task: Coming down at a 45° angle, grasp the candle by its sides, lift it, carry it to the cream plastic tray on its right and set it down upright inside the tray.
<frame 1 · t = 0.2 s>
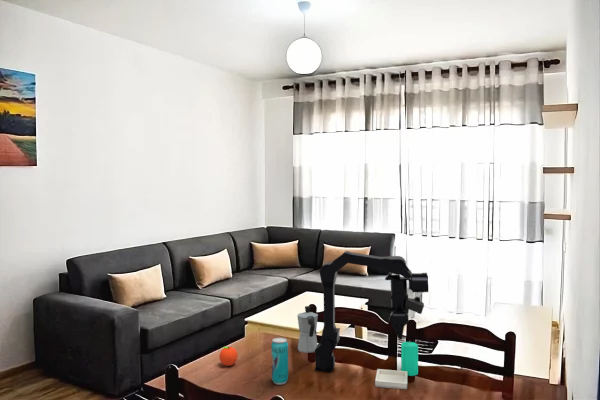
hand: (400, 335, 175), 15 cm above the table, tool pointing down, fingers open, 9 cm apart
clementine: (227, 365, 186), on the table
beverage can: (280, 382, 170), on the table
coffee maker: (308, 350, 201), on the table
tray: (391, 381, 169), on the table
candle: (409, 373, 177), on the table
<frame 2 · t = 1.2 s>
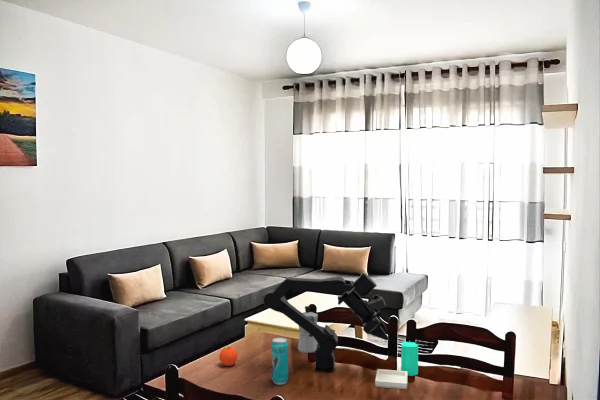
hand: (387, 335, 178), 13 cm above the table, tool tilted 45°, fingers open, 9 cm apart
nothing on the table moved.
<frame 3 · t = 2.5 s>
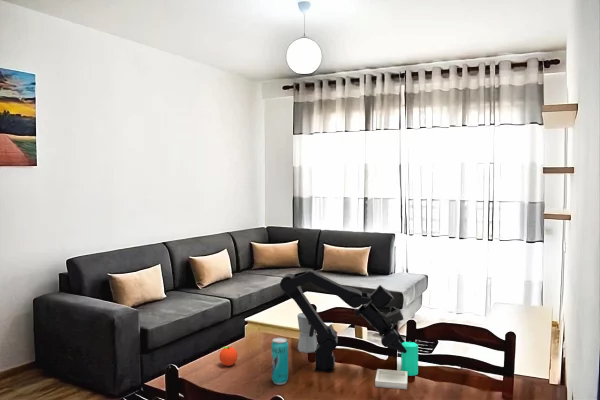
hand: (405, 347, 177), 9 cm above the table, tool tilted 45°, fingers open, 9 cm apart
nothing on the table moved.
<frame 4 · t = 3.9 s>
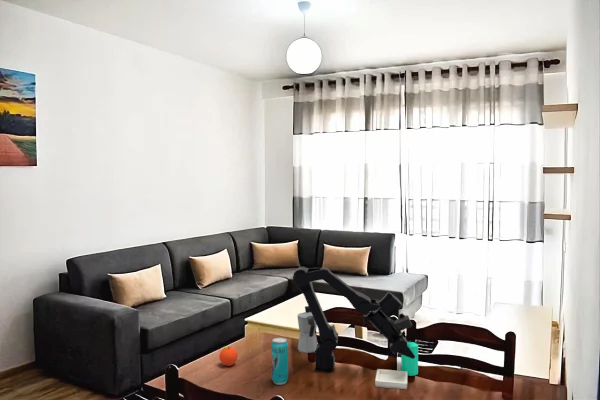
hand: (413, 354, 177), 7 cm above the table, tool tilted 45°, fingers closed on candle, 5 cm apart
candle: (409, 373, 177), on the table, touching gripper
everything else where it was.
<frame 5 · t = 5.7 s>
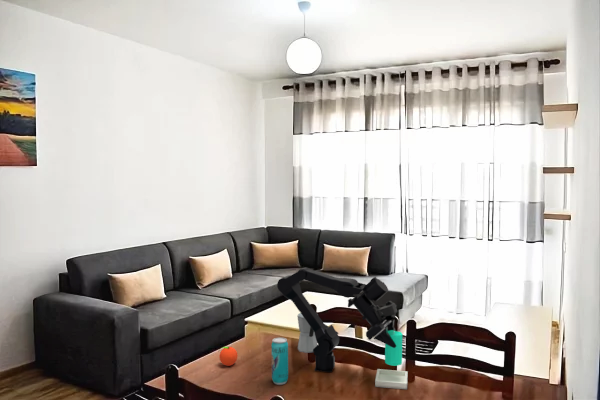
hand: (397, 344, 169), 13 cm above the table, tool tilted 45°, fingers closed on candle, 5 cm apart
candle: (393, 362, 170), point 6 cm above the table, touching gripper
everything else where it was.
when the fingers open (8 cm above the table, at t = 7.4 s): candle stays where it is, resting on tray.
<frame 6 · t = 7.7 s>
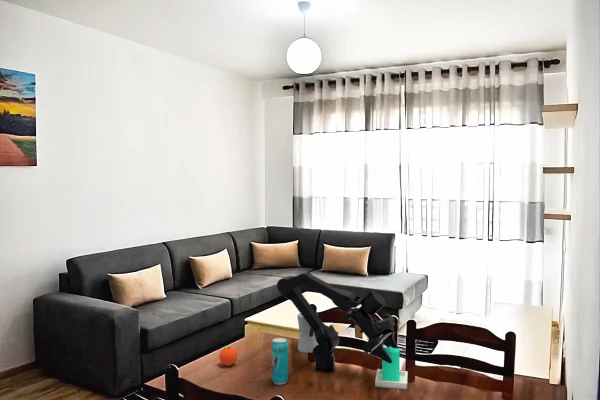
hand: (395, 358, 168), 9 cm above the table, tool tilted 45°, fingers open, 9 cm apart
candle: (391, 380, 169), point 1 cm above the table, touching tray
everything else where it was.
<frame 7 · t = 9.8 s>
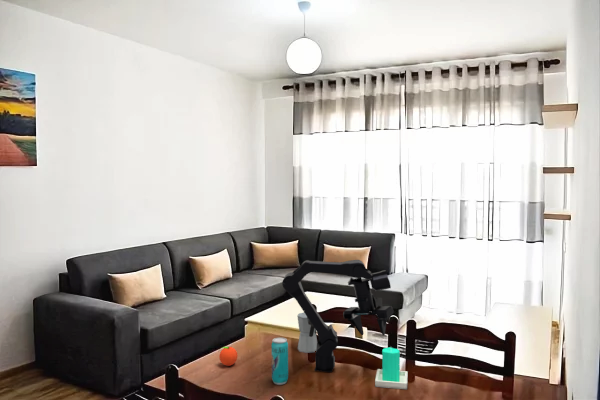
hand: (373, 334, 180), 13 cm above the table, tool pointing down, fingers open, 9 cm apart
nothing on the table moved.
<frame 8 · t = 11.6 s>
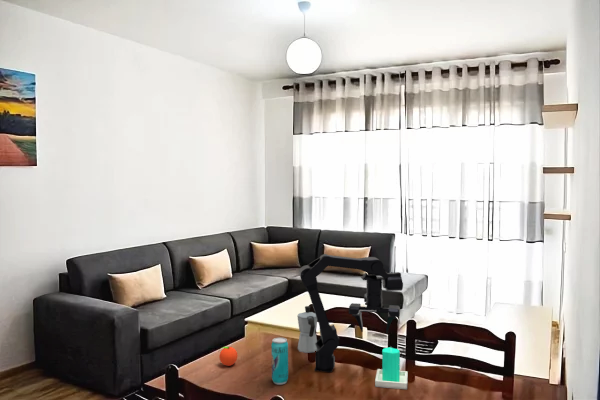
hand: (374, 332, 183), 13 cm above the table, tool pointing down, fingers open, 9 cm apart
nothing on the table moved.
at the end: candle inside the target area on the tray (0.3 cm from its centre), point 0.4 cm above the tray's base; candle tilted 0°; the gripper is holding nothing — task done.
